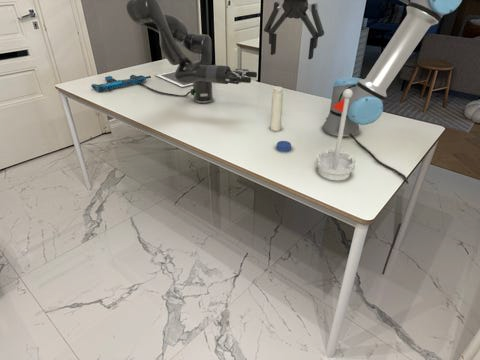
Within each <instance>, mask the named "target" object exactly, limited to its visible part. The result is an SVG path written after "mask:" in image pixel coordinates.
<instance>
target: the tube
mask: <svg viewBox="0 0 480 360" xmlns="http://www.w3.org/2000/svg"><path fill="white" fill-rule="evenodd" d="M283 105H284V87H282V86H274V87H273V88H272V91H271V107H270V108H271V109H270V110H271V111H270V131H273V132H279V131H281V129H282V120H283V119H282V118H283Z"/></svg>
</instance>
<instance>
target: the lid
mask: <svg viewBox="0 0 480 360" xmlns="http://www.w3.org/2000/svg"><path fill="white" fill-rule="evenodd" d="M291 148H292V143H291V142H290V141H287V140H279V141H278V142H276V150H277V151H279V152H281V153H287V152H290V151H291V150H292V149H291Z"/></svg>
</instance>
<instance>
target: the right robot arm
mask: <svg viewBox="0 0 480 360" xmlns="http://www.w3.org/2000/svg"><path fill="white" fill-rule="evenodd" d="M399 1H400V2H402V3H404V4H405V5H407V6H406V16H405V17H404V19H403V20H402V22H401V23H400V25H399V26H398V28H397V29H396V31H395V32H394V34H393V36H392V37H391V38H390V40H389V42H388V43H387V44H386V46H385V48H384V49H383V51H382V53H381V54H380V55H379V57H378V59H377V60H376V62H375V63H374V65H373V66H372V68H371V69H370V71H369V73H367V75H366V78H364V79H363V78H360V77H353V76H350V77H349V76H343V77H338V78H336V79H335V80H334V82H333V86H332V93H331V99H330V100H331V101H330V107H329V112H328V115H327V117H326V118H325V121H324V123H323V126H322V130H323V132H324V133H325V134H326V135H329V136H332V137H335V138H338V133H339V127H340V121H341V115H342V112H341V111H339V110H337V109H334V108H332V107H333V106H334V105H336V104H337V103H339V102H340V101H342V100H343V99H344V97H343V92H344V90H346V89H350V90H352V92H353V95H352V97H351V98H349V104H348V109H347V115H346V120H345V126H344V131H343V137H342V139H349V138H352V139H353V140H354V142H355V143H356V144H357V145H358V146H359V147H361V148H362V149H363V150H364V151H366V153H367V154H369V155H370V156H371V157H372V159H374V161H375V162H377V163H378V164H379V165H381V166H383V167H385V168H386V169H389V170H391V171H393V172H394V173H396V174H397V175H398V176H401V177H402V178H403V179H404V182H405V184H407V185H409V180H408V178H407V176H406V175H405V174H403V173H401V172H400V171H399V170H397V169H396V168H393V167H391V166H389V165H387V164H385V163H383V162H382V161H381V160H379V159H378V158H377V157H376V156H375V155H374V154H373V153H372V152H371V151H370V150H369V149H368V148H366V147H365V146H364V145H363V144H362V143H360V141H358V140H357V138H356V136H357V135H359V132H360V126H367V125H370V124H374V123H375V122H376V121H377V120H378V119H379V118H380V117H381V116H382V114H383V111H384V104H383V103H384V101H385V99H386V98H387V97H388V96H387V89H388V88H389V86H390V85H391V84H392V82H393V81H394V79H395V78H396V77H397V75H398V73H399V72H400V71H401V70H402V68H403V66H404V65H405V63H406V62H407V60H408V59H409V57H410V56H411V55H412V53H413V52H414V50H415V49H416V47H417V46H418V45H419V43H420V42H421V40H422V39H423V38H424V37H425V34H426V33H427V32H428V30H429V29H430V27H432V26H435V25H437V24H439V23H440V22H441V20H442V18H443V17H444V16H445V15H448V14H450V13H452V12H454V11H455V10H456V9H458V7H459V6H460V5H461V3H462V2H463V0H399ZM281 9H282V10H283V11H284V12H283V13H282V14H281V15H280V17H279V19H277V21H276V22H275V20H276V18H277V16H278V14H279V11H280V10H281ZM308 10H309V12H311V16H312V19H313V22H314V23H312V21H311V19H310V17H309V16H308V14H307V11H308ZM287 18H288V19H296V20H297V19H301V21H302V22H303V23H304V26H305V27H306V29H307V30H308V32H309V33H310V35H311V37H310V40H309V49H308V57H307V60H312V59H313V58H314V51H315V50H316V49H317V48H318V42H319V41H318V40H319V38H321V37H323V36H325V30H324V27H323V24H322V21H321V18H320V15H319V12H318V3H317V2H315V3H310V4H309V0H283V2H281V1H279V0H278V1H274V3H273V8H272V11H271V14H270V15H269V18H268V20H267V22H266V24H265V25H264V28H263V31H264V32H265V33H267V34H268V44H269V45H270V56H273V55H275V54H276V53H277V35H278V33H276V31H277V30H278V29H279V28H280V26H282V24H283V23H284V22H285V21H286V19H287ZM274 22H275V23H274ZM401 226H402V222H400V223H398V224H397V228H396V231H395V233H394V237H393V240H392V243H391V246H390V248H389V251H388V255H387V257H386V260H385V263H384V266H383V269H382V272H381V275H383V276H384V275H385V273H386V270H387V266H388V263H389V260H390V257H391V254H392V252H393V249H394V246H395V243H396V240H397V237H398V235H399V232H400V229H401Z"/></svg>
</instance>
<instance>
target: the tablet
mask: <svg viewBox="0 0 480 360" xmlns="http://www.w3.org/2000/svg"><path fill="white" fill-rule="evenodd" d="M175 72H176V70H174V71H168V72H164V73H160V74H155V77H157V78H159V79H162V80H164V81H165V82H166V81H167V82H168V83H171V84H174V85H175V86H178V87H181V88H187V87H191V86H193V82H192V83H181V82H179V81H177V80H176V78H175Z"/></svg>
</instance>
